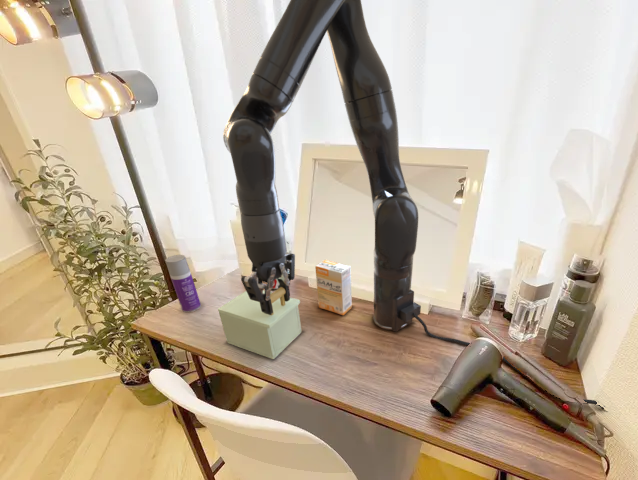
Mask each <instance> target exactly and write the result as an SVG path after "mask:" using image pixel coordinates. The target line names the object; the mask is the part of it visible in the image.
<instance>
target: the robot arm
mask: <svg viewBox="0 0 638 480" xmlns="http://www.w3.org/2000/svg"><path fill="white" fill-rule="evenodd" d="M326 33H327V36H328V41H329V44H330V48H331V52H332V58H333V61H334V66H335V70H336V71H335V72H336V75H337V78H338V81H339V85H340V90H341V95H342V100H343V104H344V108H345V112H346V115H347V119H348V122H349V127H350V129H351V132H352V135H353V138H354V141H355V144H356V145H357V146H356V147H357V149H358V152H359V153H360V156H361V159H362V161H363V163H364V166H365V169H366V173H367V177H368V183H369V187H370V196H371V202H372V203H371V204H372V212H373V218H374V249H373V302H372V303H373V305H372V306H373V322H374V324H375V325H376V326H377V327H379V328H381V329H383V330H388V331H393V332H394V333H396V332H398V331H400V330H402V329H404V328H406V327H407V326H409V325H410V324H412V323H413V319H416V321H418V322H419V323H420V324H421V325H422V327H423V331H424V332H425V334H426V335H427V336H429V337H431V338H434V339H438V340H441V341H445V342H451V343H456V344H460V345H462V346H463V345H464V346H468V345H469V344H470V343H471V342H468V341H464V340H460V339H456V338H452V337H451V338H450V337H443V336H439V335H435V334H433V333H431V332H430V331H429V330H428V327H427V325H426V323H425V322H424V320H422V319H421V318H420V317H419V316H420V315H421V310H422V306H421V305H420V304H418V302H417V303H416V302H414V301H415V291H414V290H413V289H412V284H413V267H414V255H415V252H416V250H417V242H418V241H417V240H418V229H419V209H418V207H417V203H415V201H414V199H413V198H412V197H411V194H410V192H409V190H408V186H407V184H406V181H405V178H404V177H405V176H404V174H403V170H402V165H401V160H400V143H399V142H400V141H399V139H400V138H399V122H398V114H397V108H396V102H395V97H394V93H393V87H392V84H391V83H392V82H391V79H390V76H389V73H388V71H387V68H386V67H385V64H384V63H383V61H382V59H381V57H380V54H379V53H378V51H377V49H376V47H375V45H374V43H373V41H372V39H371V36H370V34H369V32H368V28H367V25H366V20H365V15H364V9H363V4H362V0H289V3H288V4H287V6H286V8H285V10H284V12H283V14H282V16H281V17H280V20H279V21H278V23H277V25H276V27H275V29H274V30H273V32H272V34H271V36H270V37H269V39H268V41H267V42H266V45H265V47H264V49H263V51H262V53H261V55H260V56H259V59H258V61H257V63H256V65H255V68H254V70H253V71H252V74H251V76H250V78H249V81H248V83H247V84H248V85H247V87H246V89H245V91H244V93H243V95H242V96H241V98H240V99H239V100H238V102H237V104H236V106H235V107H234V109H233V110H232V112H231V114H230V116H229V118H228V119H227V121H226V124H225V125H224V128H223V133H222V134H223V135H222V139H223V143H224V147H225V148H226V149H227V151H228V152H229V154H230V155H231V161H232V165H233V170H234V174H235V179H236V183H235V194H236V199H237V203H238V208H239V215H240V226H241V229H242V235H243V240H244V245H245V249H246V254H247V258H248V259H249V261H250V262H251V272H250V273H249V274H248V275H242V276H241V278H240V281H241V284H242V285H243V288H244V289H245V291H246V292H247V294H248V296H249V298H250V299H251V300H254V301H257V302H260V306H261V311H262V312H264V313H265V314H269V315H271V314H272V313H273V308H272V303H271V299H270V292H272V290H274V289H273V282H274V280H275V279H276V280H277V282H278V284H280V285H278V288H280V287H283V288H284V289H285V291H286V293H285V294H284V299H285V301H286V302H287V301H289V300H290V298H291V293H290V284H291V281H294V280H295V277H296V275H295V273H296V254H295V253H292V252H288V250H287V243H286V234H285V228H284V222H283V221H284V220H283V218H282V214H281V209H280V203H279V195H278V190H277V186H276V150H275V145H274V141H273V138H272V135H271V134H272V133H273V130H274V129H275V127H276V125H277V123H278V121H279V120H280V119H281V118H282V117H284V116H285V115H286V114H287V113H288V111H290V108H291V107H292V105H293V103H294V101H295V98H296V96H297V95H298V93H299V90H300V88H301V86H302V85H303V83H304V80H305V78H306V76H307V74H308V72H309V69H310V67H311V65H312V63H313V61H314V59H315V56H316V54H317V52H318V50H319V48H320V46H321V43H322V41H323V39H324V37H325V35H326ZM288 270H289V273H288ZM266 283H267V284H266ZM263 290H264V291H265V294H263ZM468 347H469V346H468ZM505 358H506V357H504V356H503V360H502V361H503V362H504V363H506V364H507V365H508V366H510V367H511V368H513V369H514V370H515V371H517V372H518V373H520V375H523V374H522V373H521V372H520V371H519V370H517V369H516V368H515V367H513V366H512V365H511V364H510V363H509V362H508V361H507V360H508V359H507V358H506V359H507V360H506V359H505ZM523 376H524V377H525V378H527V377H526V376H525V375H523ZM527 379H528V380H530V379H529V378H527ZM583 400H584V401H585V402H587V403H585V404H587V405H588V404H589V405H594V406H598V407H599V408H601V409H602V410H603V408H602V407H601V406H600V405H596V404H597V402H596V401H597V400H595V399H584V398H583Z"/></svg>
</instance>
